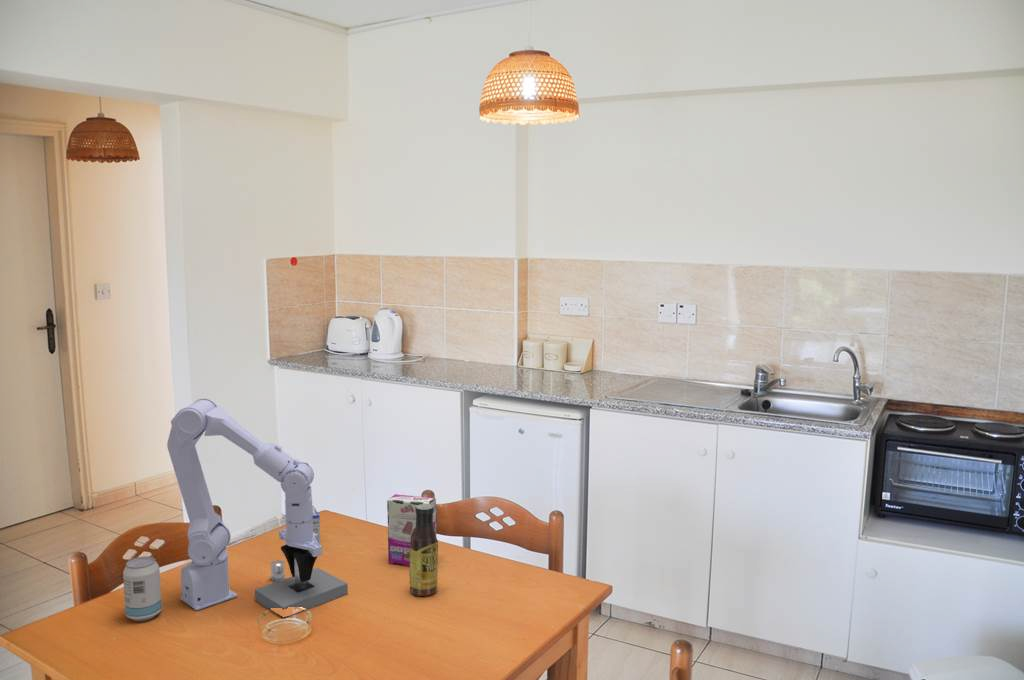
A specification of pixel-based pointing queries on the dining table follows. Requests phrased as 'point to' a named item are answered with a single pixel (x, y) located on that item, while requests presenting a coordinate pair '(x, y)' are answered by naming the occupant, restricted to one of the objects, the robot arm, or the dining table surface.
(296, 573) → the tall pin
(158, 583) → the beverage can
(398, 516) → the candy bar box
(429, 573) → the sauce bottle
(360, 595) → the dining table surface
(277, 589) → the hole board
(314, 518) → the medicine box
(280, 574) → the short pin
